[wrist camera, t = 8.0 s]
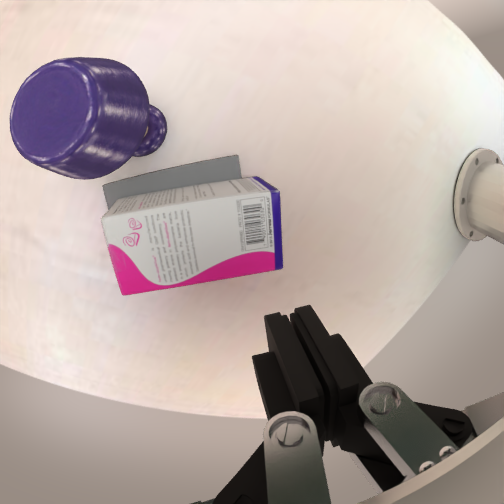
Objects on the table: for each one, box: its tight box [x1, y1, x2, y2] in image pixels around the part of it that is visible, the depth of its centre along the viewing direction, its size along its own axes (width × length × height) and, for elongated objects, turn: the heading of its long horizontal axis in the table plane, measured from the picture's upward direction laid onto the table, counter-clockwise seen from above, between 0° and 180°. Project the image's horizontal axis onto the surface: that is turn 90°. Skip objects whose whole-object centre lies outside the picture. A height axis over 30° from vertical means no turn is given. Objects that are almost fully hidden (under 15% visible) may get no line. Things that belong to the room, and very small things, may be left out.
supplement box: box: [101, 177, 283, 295], centre depth 21 cm, size 6×6×12 cm
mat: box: [103, 155, 242, 210], centre depth 24 cm, size 11×7×1 cm, turn 100°
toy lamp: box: [10, 57, 167, 180], centre depth 13 cm, size 5×5×17 cm
